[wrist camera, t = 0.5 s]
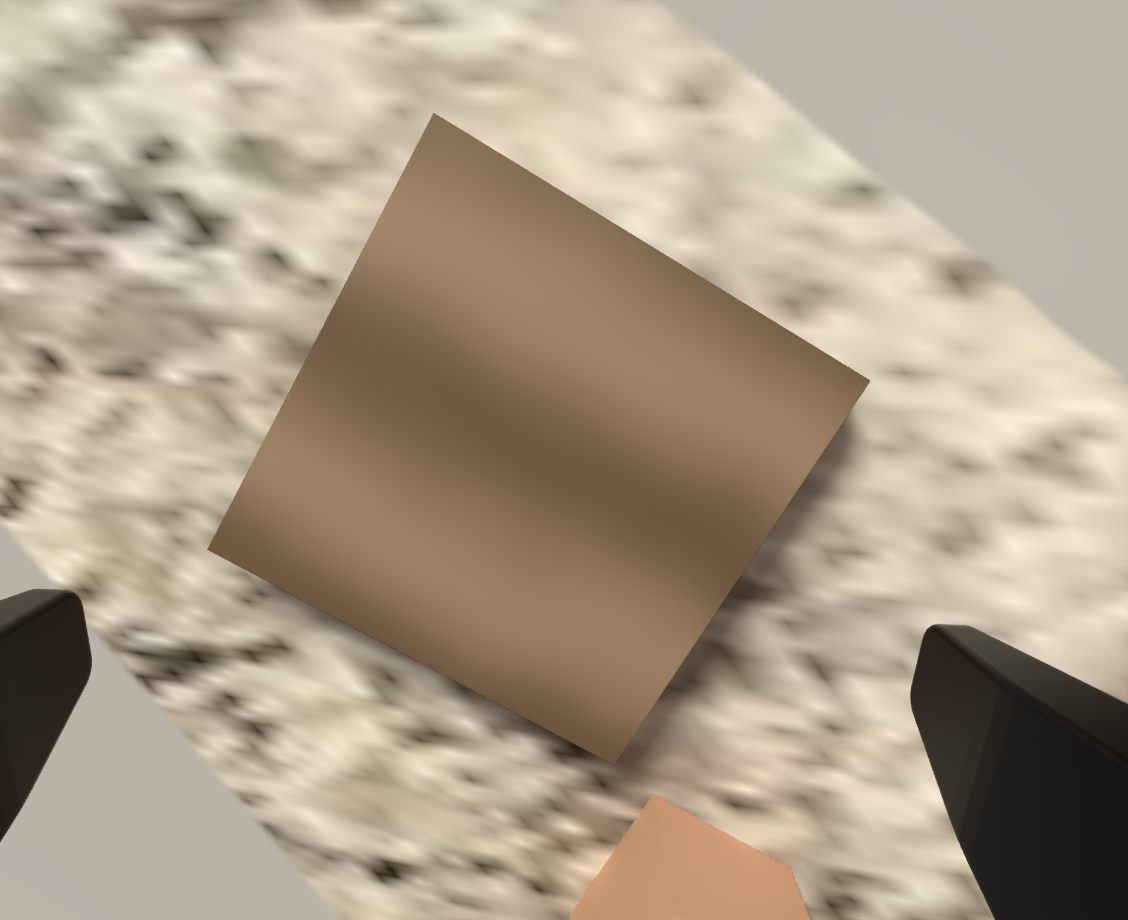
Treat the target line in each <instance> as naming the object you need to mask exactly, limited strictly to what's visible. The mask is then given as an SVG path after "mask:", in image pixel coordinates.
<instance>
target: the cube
mask: <svg viewBox="0 0 1128 920" xmlns="http://www.w3.org/2000/svg"><path fill="white" fill-rule="evenodd" d="M569 920H810V918H809V915H808V913H807V910H806V908H805V905H804V902H803V900H802V897H801V895H800V892H799V889H798V887H797V884H796V882H795V879H794V876H793V874H792V871H791V869H790V867H788V866H787V865H785V864H783V863H781V862H779V861H777V860H775V859H773V858H772V857H770V856H768V855H766V854H764V853H762V852H760V851H759V850H757V849H755V848H753V847H751V846H749V845H747V844H745V843H744V842H742V841H740V840H738V839H736V838H734V837H732V836H730V835H729V834H727V833H725V832H723V831H721V830H719V829H717V828H715V827H714V826H712V825H710V824H708V823H706V822H704V821H702V820H700V819H699V818H697V817H695V816H693V815H691V814H689V813H687V812H686V811H684V810H682V809H680V808H678V807H676V806H674V805H672V804H671V803H669V802H667V801H665V800H663V799H661V798H659V797H657V796H656V795H654V794H653V795H652V797H651V798H650V799H649V801H648V802H647V804H646V805H645V807H644V808H643V810H642V811H641V813H640V814H639V815H638V817H637V818H636V820H635V821H634V823H633V824H632V826H631V827H630V829H629V830H628V831H627V833H626V834H625V836H624V837H623V839H622V840H621V842H620V843H619V845H618V846H617V848H616V849H615V850H614V852H613V853H612V855H611V856H610V858H609V859H608V861H607V862H606V864H605V865H604V866H603V868H602V869H601V871H600V872H599V874H598V875H597V877H596V878H595V880H594V881H593V882H592V884H591V885H590V887H589V888H588V890H587V891H586V893H585V894H584V896H583V897H582V899H581V900H580V901H579V903H578V904H577V906H576V907H575V909H574V910H573V912H572V913H571V915H570V916H569Z"/></svg>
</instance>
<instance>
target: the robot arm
mask: <svg viewBox="0 0 1128 920" xmlns="http://www.w3.org/2000/svg"><path fill="white" fill-rule="evenodd" d="M91 667H92V656H91V650H90V644H89V638H88V633H87V627H86V621H85V616H84V610H83V605H82V602H81V600H80V598H79V596H78V595H77V594H75V593H74V592H73V591H70V590H56V589H32V590H29V591H26V592H23V593H20V594H17V595H14V596H12V597H9V598H6V599H3V600H0V842H1V840H2V839H3V837H4V836H5V834H6V833H7V831H8V829H9V828H10V826H11V824H12V823H13V821H14V820H15V818H16V816H17V815H18V813H19V812H20V810H21V808H22V806H23V805H24V803H25V801H26V799H27V798H28V796H29V794H30V792H31V790H32V789H33V787H34V784H35V783H36V781H37V779H38V777H39V775H40V773H41V771H42V769H43V767H44V766H45V764H46V762H47V760H48V758H49V756H50V754H51V752H52V750H53V748H54V746H55V744H56V742H57V740H58V738H59V736H60V735H61V733H62V731H63V729H64V727H65V725H66V723H67V721H68V719H69V717H70V715H71V713H72V711H73V709H74V707H75V705H76V704H77V702H78V700H79V698H80V696H81V694H82V692H83V690H84V688H85V686H86V684H87V682H88V680H89V676H90V672H91ZM910 698H911V707H912V712H913V715H914V718H915V721H916V724H917V726H918V729H919V732H920V735H921V738H922V741H923V744H924V747H925V749H926V752H927V755H928V758H929V761H930V764H931V767H932V770H933V772H934V775H935V778H936V781H937V784H938V787H939V790H940V793H941V795H942V798H943V801H944V804H945V807H946V810H947V813H948V816H949V818H950V821H951V824H952V826H953V829H954V831H955V834H956V837H957V839H958V841H959V844H960V846H961V848H962V850H963V853H964V855H965V857H966V859H967V862H968V864H969V866H970V868H971V870H972V872H973V874H974V876H975V879H976V881H977V883H978V885H979V887H980V889H981V891H982V893H983V895H984V898H985V900H986V902H987V904H988V906H989V908H990V910H991V912H992V914H993V917H994V919H995V920H1128V704H1127V703H1125V702H1123V701H1121V700H1119V699H1117V698H1115V697H1113V696H1111V695H1109V694H1107V693H1105V692H1103V691H1101V690H1099V689H1097V688H1095V687H1093V686H1091V685H1089V684H1087V683H1085V682H1083V681H1081V680H1079V679H1077V678H1075V677H1073V676H1071V675H1069V674H1067V673H1064V672H1062V671H1060V670H1058V669H1056V668H1054V667H1052V666H1050V665H1048V664H1046V663H1044V662H1042V661H1040V660H1038V659H1036V658H1034V657H1032V656H1030V655H1028V654H1026V653H1024V652H1022V651H1020V650H1018V649H1016V648H1014V647H1012V646H1010V645H1008V644H1006V643H1004V642H1002V641H1000V640H998V639H995V638H993V637H991V636H989V635H987V634H985V633H983V632H981V631H979V630H977V629H975V628H973V627H971V626H966V625H947V624H936V625H932V626H931V627H929V628H928V629H927V630H926V632H925V634H924V636H923V639H922V643H921V648H920V652H919V656H918V660H917V665H916V669H915V673H914V677H913V682H912V686H911V695H910Z"/></svg>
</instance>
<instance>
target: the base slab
mask: <svg viewBox="0 0 1128 920" xmlns="http://www.w3.org/2000/svg"><path fill="white" fill-rule="evenodd" d="M869 382H870V380H869V379H867V378H865V377H864V376H862V375H860V374H859V373H857V372H855V371H854V370H852V369H851V368H849V367H847V366H846V365H844V364H842V363H841V362H839V361H838V360H836V359H834V358H833V357H831V356H829V355H828V354H826V353H824V352H823V351H821V350H820V349H818V348H816V347H815V346H813V345H811V344H810V343H808V342H807V341H805V340H803V339H802V338H800V337H798V336H797V335H795V334H794V333H792V332H790V331H789V330H787V329H785V328H784V327H782V326H780V325H779V324H777V323H776V322H774V321H772V320H771V319H769V318H767V317H766V316H764V315H763V314H761V313H759V312H758V311H756V310H754V309H753V308H751V307H749V306H748V305H746V304H745V303H743V302H741V301H740V300H738V299H736V298H735V297H733V296H732V295H730V294H728V293H727V292H725V291H723V290H722V289H720V288H719V287H717V286H715V285H714V284H712V283H710V282H709V281H707V280H705V279H704V278H702V277H701V276H699V275H697V274H696V273H694V272H692V271H691V270H689V269H688V268H686V267H684V266H683V265H681V264H679V263H678V262H676V261H674V260H673V259H671V258H670V257H668V256H666V255H665V254H663V253H661V252H660V251H658V250H657V249H655V248H653V247H652V246H650V245H648V244H647V243H645V242H644V241H642V240H640V239H639V238H637V237H635V236H634V235H632V234H630V233H629V232H627V231H626V230H624V229H622V228H621V227H619V226H617V225H616V224H614V223H613V222H611V221H609V220H608V219H606V218H604V217H603V216H601V215H599V214H598V213H596V212H595V211H593V210H591V209H590V208H588V207H586V206H585V205H583V204H582V203H580V202H578V201H577V200H575V199H573V198H572V197H570V196H569V195H567V194H565V193H564V192H562V191H560V190H559V189H557V188H555V187H554V186H552V185H551V184H549V183H547V182H546V181H544V180H542V179H541V178H539V177H538V176H536V175H534V174H533V173H531V172H529V171H528V170H526V169H524V168H523V167H521V166H520V165H518V164H516V163H515V162H513V161H511V160H510V159H508V158H507V157H505V156H503V155H502V154H500V153H498V152H497V151H495V150H494V149H492V148H490V147H489V146H487V145H485V144H484V143H482V142H480V141H479V140H477V139H476V138H474V137H472V136H471V135H469V134H467V133H466V132H464V131H463V130H461V129H459V128H458V127H456V126H454V125H453V124H451V123H449V122H448V121H446V120H445V119H443V118H441V117H440V116H438V115H436V114H435V113H433V115H432V117H431V119H430V121H429V123H428V125H427V127H426V129H425V131H424V133H423V135H422V137H421V139H420V140H419V142H418V144H417V146H416V148H415V150H414V152H413V154H412V156H411V158H410V160H409V162H408V164H407V166H406V167H405V169H404V171H403V173H402V175H401V177H400V179H399V181H398V183H397V185H396V187H395V189H394V191H393V193H392V194H391V196H390V198H389V200H388V202H387V204H386V206H385V208H384V210H383V212H382V214H381V216H380V218H379V220H378V221H377V223H376V225H375V227H374V229H373V231H372V233H371V235H370V237H369V239H368V241H367V243H366V245H365V247H364V248H363V250H362V252H361V254H360V256H359V258H358V260H357V262H356V264H355V266H354V268H353V270H352V272H351V274H350V275H349V277H348V279H347V281H346V283H345V285H344V287H343V289H342V291H341V293H340V295H339V297H338V299H337V301H336V302H335V304H334V306H333V308H332V310H331V312H330V314H329V316H328V318H327V320H326V322H325V324H324V326H323V328H322V329H321V331H320V333H319V335H318V337H317V339H316V341H315V343H314V345H313V347H312V349H311V351H310V353H309V355H308V356H307V358H306V360H305V362H304V364H303V366H302V368H301V370H300V372H299V374H298V376H297V378H296V380H295V382H294V383H293V385H292V387H291V389H290V391H289V393H288V395H287V397H286V399H285V401H284V403H283V405H282V407H281V409H280V410H279V412H278V414H277V416H276V418H275V420H274V422H273V424H272V426H271V428H270V430H269V432H268V434H267V436H266V437H265V439H264V441H263V443H262V445H261V447H260V449H259V451H258V453H257V455H256V457H255V459H254V461H253V463H252V464H251V466H250V468H249V470H248V472H247V474H246V476H245V478H244V480H243V482H242V484H241V486H240V488H239V490H238V491H237V493H236V495H235V497H234V499H233V501H232V503H231V505H230V507H229V509H228V511H227V513H226V515H225V517H224V518H223V520H222V522H221V524H220V526H219V528H218V530H217V532H216V534H215V536H214V538H213V540H212V542H211V544H210V545H209V547H208V549H207V550H209V551H211V552H213V553H215V554H217V555H218V556H220V557H222V558H224V559H226V560H228V561H230V562H232V563H233V564H235V565H237V566H239V567H241V568H243V569H245V570H247V571H249V572H250V573H252V574H254V575H256V576H258V577H260V578H262V579H264V580H266V581H267V582H269V583H271V584H273V585H275V586H277V587H279V588H281V589H283V590H284V591H286V592H288V593H290V594H292V595H294V596H296V597H298V598H300V599H301V600H303V601H305V602H307V603H309V604H311V605H313V606H315V607H317V608H318V609H320V610H322V611H324V612H326V613H328V614H330V615H332V616H334V617H335V618H337V619H339V620H341V621H343V622H345V623H347V624H349V625H351V626H352V627H354V628H356V629H358V630H360V631H362V632H364V633H366V634H368V635H369V636H371V637H373V638H375V639H377V640H379V641H381V642H383V643H385V644H386V645H388V646H390V647H392V648H394V649H396V650H398V651H400V652H402V653H403V654H405V655H407V656H409V657H411V658H413V659H415V660H417V661H419V662H420V663H422V664H424V665H426V666H428V667H430V668H432V669H434V670H436V671H437V672H439V673H441V674H443V675H445V676H447V677H449V678H451V679H453V680H454V681H456V682H458V683H460V684H462V685H464V686H466V687H468V688H470V689H471V690H473V691H475V692H477V693H479V694H481V695H483V696H485V697H487V698H488V699H490V700H492V701H494V702H496V703H498V704H500V705H502V706H504V707H505V708H507V709H509V710H511V711H513V712H515V713H517V714H519V715H521V716H522V717H524V718H526V719H528V720H530V721H532V722H534V723H536V724H538V725H539V726H541V727H543V728H545V729H547V730H549V731H551V732H553V733H555V734H556V735H558V736H560V737H562V738H564V739H566V740H568V741H570V742H572V743H573V744H575V745H577V746H579V747H581V748H583V749H585V750H587V751H589V752H590V753H592V754H594V755H596V756H598V757H600V758H602V759H604V760H606V761H607V762H609V763H611V764H613V765H614V764H615V762H616V761H617V759H618V758H619V756H620V755H621V753H622V752H623V751H624V749H625V748H626V746H627V745H628V743H629V742H630V740H631V739H632V737H633V736H634V734H635V733H636V731H637V730H638V728H639V727H640V725H641V724H642V722H643V721H644V719H645V718H646V716H647V715H648V713H649V712H650V710H651V709H652V707H653V706H654V704H655V703H656V701H657V700H658V698H659V697H660V695H661V694H662V692H663V691H664V689H665V688H666V686H667V685H668V683H669V682H670V680H671V679H672V677H673V676H674V674H675V673H676V671H677V670H678V668H679V667H680V665H681V664H682V662H683V661H684V659H685V658H686V656H687V655H688V653H689V652H690V650H691V649H692V647H693V646H694V644H695V643H696V641H697V640H698V638H699V637H700V635H701V634H702V632H703V631H704V629H705V628H706V626H707V625H708V623H709V622H710V620H711V619H712V617H713V616H714V614H715V613H716V611H717V610H718V608H719V607H720V605H721V604H722V602H723V601H724V599H725V598H726V596H727V595H728V593H729V592H730V590H731V589H732V587H733V586H734V584H735V583H736V581H737V580H738V578H739V577H740V575H741V574H742V572H743V571H744V569H745V568H746V566H747V565H748V563H749V562H750V560H751V559H752V557H753V556H754V554H755V553H756V551H757V550H758V548H759V547H760V546H761V544H762V543H763V541H764V540H765V538H766V537H767V535H768V534H769V532H770V531H771V529H772V528H773V526H774V525H775V523H776V522H777V520H778V519H779V517H780V516H781V514H782V513H783V511H784V510H785V508H786V507H787V505H788V504H789V502H790V501H791V499H792V498H793V496H794V495H795V493H796V492H797V490H798V489H799V487H800V486H801V484H802V483H803V481H804V480H805V478H806V477H807V475H808V474H809V472H810V471H811V469H812V468H813V466H814V465H815V463H816V462H817V460H818V459H819V457H820V456H821V454H822V453H823V451H824V450H825V448H826V447H827V445H828V444H829V442H830V441H831V439H832V438H833V436H834V435H835V433H836V432H837V430H838V429H839V427H840V426H841V424H842V423H843V421H844V420H845V418H846V417H847V415H848V414H849V412H850V411H851V409H852V408H853V406H854V405H855V403H856V402H857V400H858V399H859V397H860V396H861V394H862V393H863V391H864V390H865V388H866V387H867V385H868V384H869Z"/></svg>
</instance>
